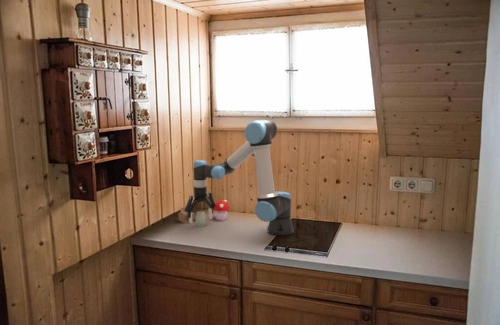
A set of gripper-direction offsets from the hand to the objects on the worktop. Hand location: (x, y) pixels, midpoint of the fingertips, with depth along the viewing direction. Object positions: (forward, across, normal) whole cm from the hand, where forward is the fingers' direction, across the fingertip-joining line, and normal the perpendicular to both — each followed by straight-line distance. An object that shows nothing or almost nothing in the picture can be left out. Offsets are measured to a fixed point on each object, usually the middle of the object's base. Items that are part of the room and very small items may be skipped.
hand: (200, 220), depth 258 cm
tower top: (-2, +2, -14) cm, 14 cm away
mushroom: (+3, -17, -4) cm, 18 cm away
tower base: (+3, +2, -14) cm, 14 cm away
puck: (+3, 0, 0) cm, 3 cm away
